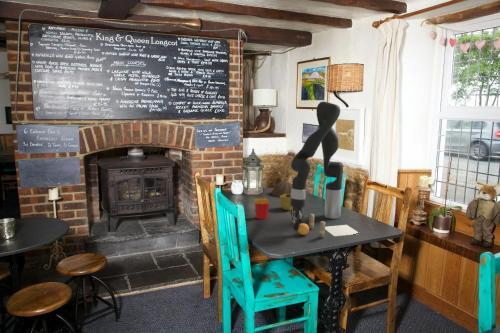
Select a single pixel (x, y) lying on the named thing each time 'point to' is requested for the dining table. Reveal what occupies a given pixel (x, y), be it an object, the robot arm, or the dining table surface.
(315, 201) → the dining table surface
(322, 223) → the right post
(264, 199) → the french fries
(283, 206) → the flower pot
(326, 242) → the dining table surface
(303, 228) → the ball
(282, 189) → the decorative dome
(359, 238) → the dining table surface
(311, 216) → the left post
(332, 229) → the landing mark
